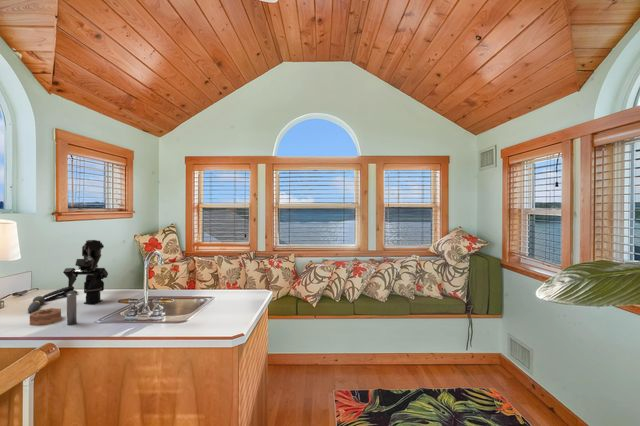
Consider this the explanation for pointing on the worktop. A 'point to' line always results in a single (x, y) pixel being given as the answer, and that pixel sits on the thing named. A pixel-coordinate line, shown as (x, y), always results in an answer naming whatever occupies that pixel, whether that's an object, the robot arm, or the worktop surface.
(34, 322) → the bead
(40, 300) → the paintbrush
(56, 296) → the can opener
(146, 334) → the worktop surface
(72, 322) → the brushed steel cylinder
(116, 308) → the worktop surface
